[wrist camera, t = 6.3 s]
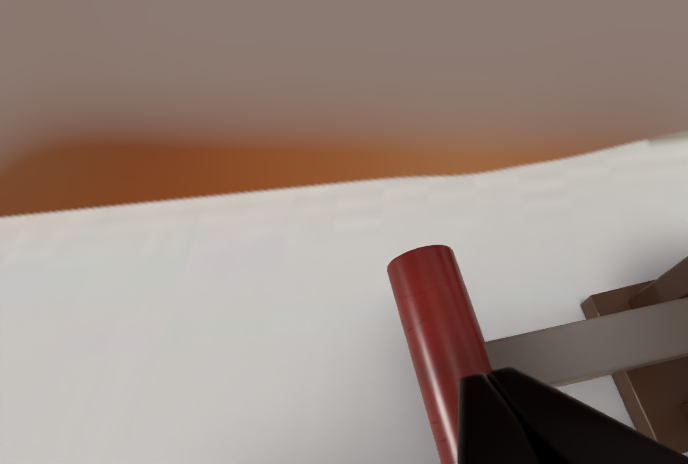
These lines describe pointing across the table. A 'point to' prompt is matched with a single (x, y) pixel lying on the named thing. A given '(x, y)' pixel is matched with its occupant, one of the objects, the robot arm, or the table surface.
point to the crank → (513, 339)
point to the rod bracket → (658, 379)
